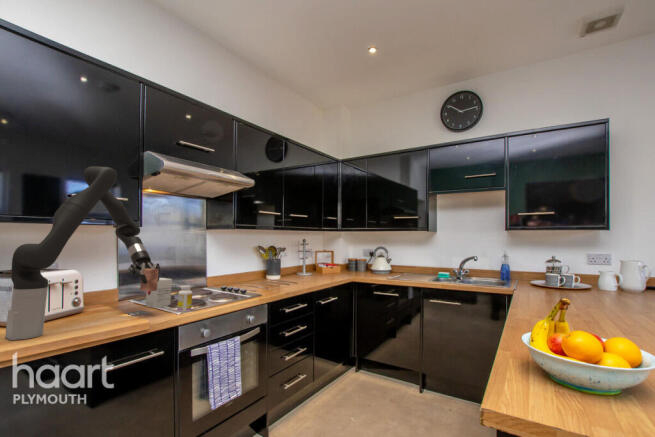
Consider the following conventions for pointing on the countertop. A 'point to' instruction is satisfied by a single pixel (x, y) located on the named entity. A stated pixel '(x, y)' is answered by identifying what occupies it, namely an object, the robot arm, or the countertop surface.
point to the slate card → (137, 313)
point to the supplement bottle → (184, 299)
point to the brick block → (150, 280)
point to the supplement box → (160, 294)
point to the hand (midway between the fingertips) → (151, 281)
